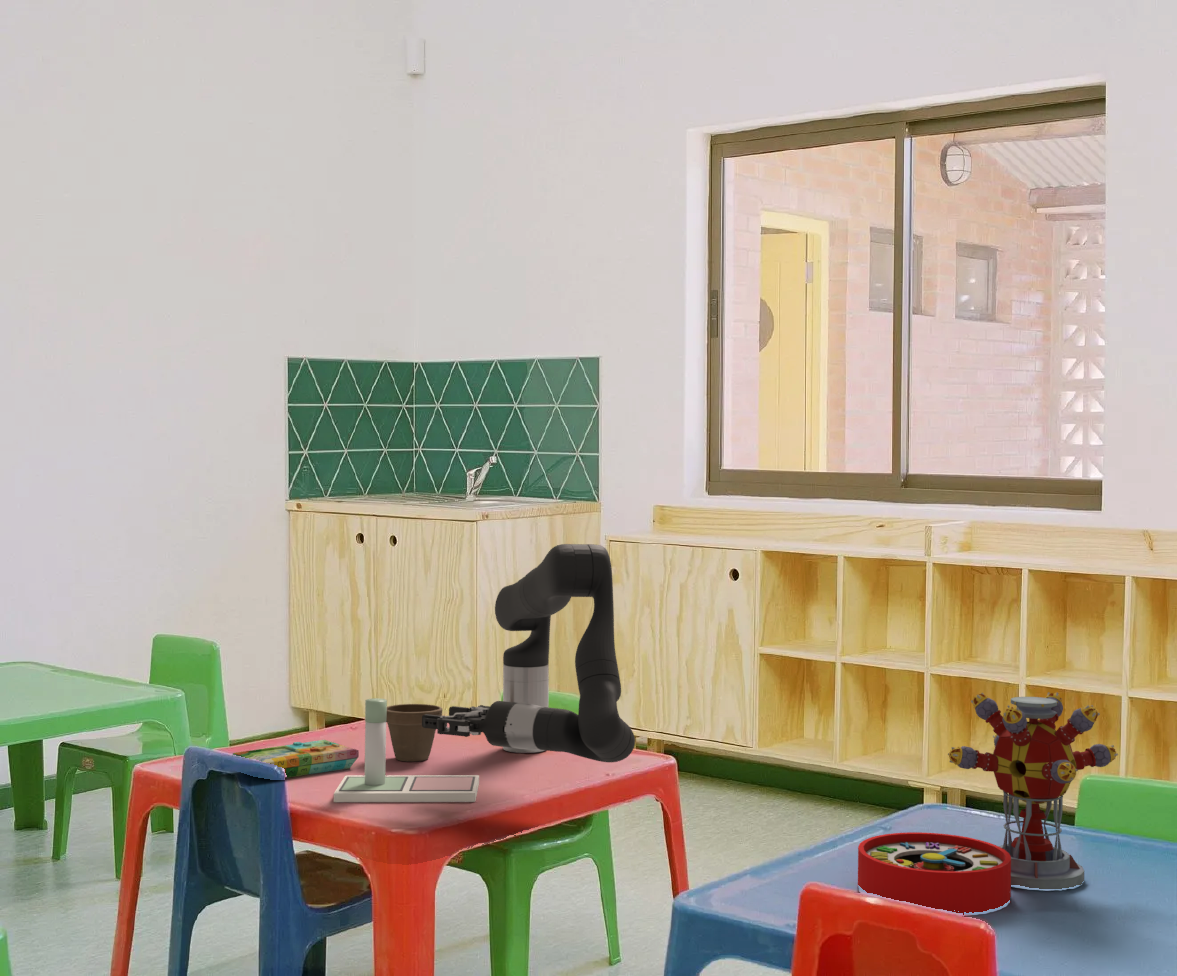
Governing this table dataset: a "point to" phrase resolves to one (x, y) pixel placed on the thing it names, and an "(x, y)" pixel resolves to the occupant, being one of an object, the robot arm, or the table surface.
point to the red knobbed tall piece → (1035, 780)
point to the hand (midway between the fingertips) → (436, 716)
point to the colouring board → (409, 789)
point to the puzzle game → (306, 757)
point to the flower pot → (411, 731)
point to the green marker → (375, 741)
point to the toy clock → (936, 871)
